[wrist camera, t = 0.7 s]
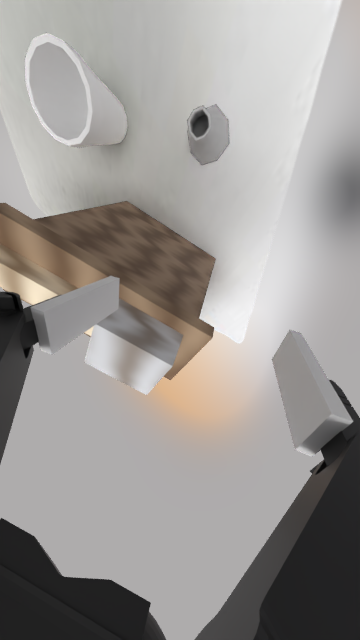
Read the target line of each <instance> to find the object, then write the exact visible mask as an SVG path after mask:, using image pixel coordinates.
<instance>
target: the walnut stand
mask: <svg viewBox="0 0 360 640" xmlns="http://www.w3.org/2000/svg"><path fill="white" fill-rule="evenodd" d="M0 244H2V245H3V246H5V247H7V248H9V249H10V250H12V251H14V252H16V253H18V254H19V255H21V256H23V257H25V258H26V259H28V260H30V261H32V262H33V263H35V264H37V265H39V266H40V267H42V268H44V269H46V270H47V271H49V272H51V273H53V274H54V275H56V276H58V277H60V278H61V279H63V280H65V281H67V282H68V283H70V284H72V285H74V286H76V287H77V288H81V287H84V286H86V285H89V284H91V283H94V282H96V281H99V280H101V279H104V278H107V277H109V276H113V277H117V278H120V279H119V298H120V299H122V300H124V301H125V302H127V303H129V304H130V305H132V306H134V307H136V308H137V309H139V310H141V311H143V312H144V313H146V314H148V315H149V316H151V317H153V318H155V319H156V320H158V321H160V322H162V323H163V324H165V325H167V326H168V327H170V328H172V329H174V330H175V331H177V332H179V333H181V334H182V335H183V338H182V341H181V344H180V347H179V349H178V352H177V355H176V358H175V361H174V364H173V366H172V368H171V369H170V370H169V371H168V372H167V373H166V374H165V375H164V377H166V378H167V379H169V380H171V379H172V378H173V377H174V376H175V375H176V374H177V373H178V372H179V371H180V370H181V369H182V368H183V367H184V366H185V365H186V364H187V363H188V362H189V361H190V360H191V359H192V358H193V357H194V356H195V355H196V354H197V353H198V352H199V351H200V350H201V349H202V348H203V347H204V346H205V345H206V344H207V343H208V342H209V341H210V340H211V339H212V337H213V331H214V327H212V326H211V325H209V324H207V323H206V322H204V321H202V320H201V319H199V316H200V312H201V309H202V305H203V302H204V298H205V295H206V291H207V288H208V284H209V281H210V277H211V273H212V270H213V266H214V263H215V258H214V257H212V256H211V255H209V254H207V253H206V252H204V251H203V250H201V249H200V248H198V247H197V246H195V245H194V244H192V243H191V242H189V241H187V240H186V239H184V238H183V237H181V236H180V235H178V234H177V233H175V232H174V231H172V230H171V229H169V228H167V227H166V226H164V225H163V224H161V223H160V222H158V221H157V220H155V219H154V218H152V217H150V216H149V215H147V214H146V213H144V212H143V211H141V210H140V209H138V208H137V207H135V206H134V205H132V204H130V203H129V202H127V201H125V202H120V203H115V204H110V205H105V206H100V207H95V208H89V209H84V210H79V211H74V212H69V213H64V214H59V215H54V216H49V217H44V218H38V219H31V218H29V217H28V216H26V215H24V214H23V213H21V212H20V211H18V210H16V209H15V208H13V207H11V206H9V205H8V204H6V203H0ZM3 290H4V291H6V292H8V291H7V290H5V289H3ZM21 300H23V299H21ZM23 301H25V300H23ZM25 302H27V301H25ZM27 303H29V302H27ZM29 304H30V305H32V304H31V303H29ZM84 334H86V333H84ZM86 335H88V334H86ZM88 336H90V335H88ZM90 337H91V336H90Z"/></svg>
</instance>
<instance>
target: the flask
mask: <svg viewBox="0 0 360 640" xmlns="http://www.w3.org/2000/svg"><path fill="white" fill-rule="evenodd" d="M187 122H188V138H189V144H190V151H191V153H192V154H193V156H194V157H195V158H196V159H197V160H198V161H199V162H200V164H201V165H204V164H207V163H210V162H213V161H216V160H218V158H219V157H220V156H221V154H222V153H223V152H224V150H225V149H226V147H227V146H228V145H229V125H228V119H227V118H226V116H225V115H224V114H223V113H222V111H221V110H220V109H219V107H218V106H217V105H216V104H215V105H213V106H211V107H208V108H205V107H204V106H200V107H198V108H196V109H193V111H192V113H191V115H190V117H189V118H188V120H187Z"/></svg>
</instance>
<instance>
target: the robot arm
mask: <svg viewBox="0 0 360 640" xmlns="http://www.w3.org/2000/svg"><path fill="white" fill-rule="evenodd" d="M119 279H120V278H117V277H113V276H109V277H107V278H104V279H101V280H99V281H96V282H94V283H91V284H89V285H86V286H84V287H81V288H78V289H76V290H73V291H71V292H68V293H66V294H63V295H58V296H55V297H53V298H51V299H47V300H45V301H42V302H40V303H37V304H34V305H32V306H29V307H27V308H24V309H23V306H22V302H21V298H20V295H19V294H17V293H14V292H0V463H1V460H2V457H3V453H4V450H5V446H6V443H7V440H8V436H9V433H10V429H11V426H12V423H13V419H14V416H15V412H16V408H17V406H18V402H19V399H20V395H21V392H22V389H23V385H24V381H25V378H26V375H27V372H28V368H29V365H30V361H31V358H32V354H33V351H34V350H33V345H34V344H36V343H37V342H39V345H40V350H41V351H44V352H46V353H49V354H51V355H52V354H54V353H55V352H57V351H58V350H60V349H61V348H62V347H64V346H65V345H67V344H68V343H70V342H71V341H73V340H74V339H76V338H77V337H78V336H80V335H81V334H83V333H84V332H86V331H87V330H89V329H90V328H92V327H93V326H94V325H96V324H97V323H99V322H100V321H102V320H103V319H105V318H106V317H107V316H109V315H110V314H112V313H113V312H115V311H116V310H118V307H119ZM272 361H273V365H274V369H275V373H276V377H277V381H278V385H279V389H280V392H281V397H282V401H283V405H284V409H285V412H286V416H287V420H288V424H289V428H290V432H291V436H292V440H293V444H294V448H295V450H297V451H299V452H302V453H305V454H307V455H310V456H314V455H315V454H316V453H317V452H319V451H320V450H321V452H322V454H323V457H324V460H323V461H322V462H320V463H319V464H318V465H317V466H315V467H314V468H313V469H312V470H311V471H310V472H311V473H312V475H311V477H310V478H309V480H308V481H307V483H306V484H305V486H304V487H303V489H302V490H301V491H300V493H299V494H298V496H297V497H296V499H295V500H294V502H293V503H292V505H291V506H290V508H289V509H288V511H287V512H286V514H285V515H284V516H283V518H282V520H281V521H280V522H279V524H278V525H277V527H276V528H275V530H274V531H273V533H272V534H271V536H270V537H269V539H268V540H267V542H266V543H265V545H264V546H263V548H262V549H261V551H260V552H259V553H258V555H257V556H256V558H255V560H254V561H253V562H252V564H251V565H250V567H249V568H248V570H247V571H246V573H245V574H244V576H243V577H242V579H241V580H240V582H239V583H238V585H237V586H236V588H235V589H234V590H233V592H232V594H231V595H230V596H229V598H228V599H227V601H226V602H225V604H224V605H223V607H222V608H221V610H220V611H219V612H218V614H217V615H216V616H215V617H214V618H213V619H212V620H211V621H210V622H209V623H208V624H207V625H206V626H205V627H204V629H203V630H202V631H201V633H199V635H198V636H197V637H196V639H195V640H360V418H359V416H358V415H357V413H356V412H355V410H354V408H353V407H351V404H350V402H349V401H348V400H347V398H346V396H345V394H344V393H343V391H342V390H341V388H339V386H337V384H336V383H335V382H333V381H332V380H329V379H328V378H327V376H326V374H325V373H324V371H323V369H322V368H321V366H320V364H319V363H318V361H317V359H316V357H315V356H314V354H313V352H312V351H311V349H310V347H309V346H308V344H307V342H306V341H305V339H304V337H303V335H302V334H301V333H299V332H296V331H292V330H289V332H288V333H287V335H286V337H285V338H284V340H283V342H282V343H281V345H280V347H279V348H278V350H277V352H276V353H275V355H274V357H273V358H272ZM150 604H151V603H150V602H148V601H146V600H145V599H143V598H141V597H140V596H138V595H136V594H134V593H133V592H131V591H129V590H127V589H126V588H124V587H122V586H120V585H119V584H117V583H115V582H113V581H112V580H104V579H88V578H71V577H64V576H62V575H61V573H60V572H59V570H58V569H57V567H56V566H55V564H54V563H53V561H52V560H51V558H50V557H49V556H48V554H47V553H46V552H45V550H44V549H43V548H42V546H41V545H40V543H39V542H38V541H37V539H36V538H35V537H34V536H32V535H31V534H29V533H27V532H25V531H24V530H22V529H20V528H18V527H16V526H15V525H13V524H11V523H9V522H8V521H6V520H4V519H2V518H1V519H0V640H166V639H165V636H164V634H163V632H162V630H161V629H160V627H159V625H158V624H157V622H156V620H155V619H154V618H153V616H152V615H151V613H150V612H149V607H150Z"/></svg>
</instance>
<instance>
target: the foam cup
mask: <svg viewBox="0 0 360 640" xmlns="http://www.w3.org/2000/svg"><path fill="white" fill-rule="evenodd" d="M25 82H26V86H27V90H28V94H29V97H30V101H31V105H32V107H33V109H34V111H35V113H36V115H37V117H38V118H39V120H40V122H41V124H42V126H43V127H44V128H45V129H46V130H47V131H48V132H49V134H50V135H51V136H52V137H53V138H54V139H55V140H57V141H59V142H61V143H63V144H66V145H68V146H71V147H77V148H82V147H86V146H94V145H112V144H117V143H120V142H121V141H122V140H123V139H124V138H125V136H126V132H127V128H128V126H127V115H126V112H125V109H124V106H123V105H122V104H121V102H120V101H119V100H118V98H117V97H116V96H115V95H114V94H113V93H112V92H111V90H110V89H109V88H108V87H107V86H106V85H105V84H104V83H103V82H102V81H101V80H100V78H99V77H98V76H97V75H96V74H95V73H94V72H93V71H92V70H91V68H90V67H89V66H88V65H87V63H86V62H85V61H84V59H83V58H82V57H81V56H80V54H79V53H78V52H77V51H76V50H75V49H74V48H72V47H71V46H70V45H69V44H67V43H66V42H65V41H64V40H61V39H59V38H57V37H55V36H53V35H51V34H48V33H44V34H42V35H40V36H38V37H35V38H33V39H32V41H31V44H30V46H29V48H28V51H27V53H26V56H25Z"/></svg>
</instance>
